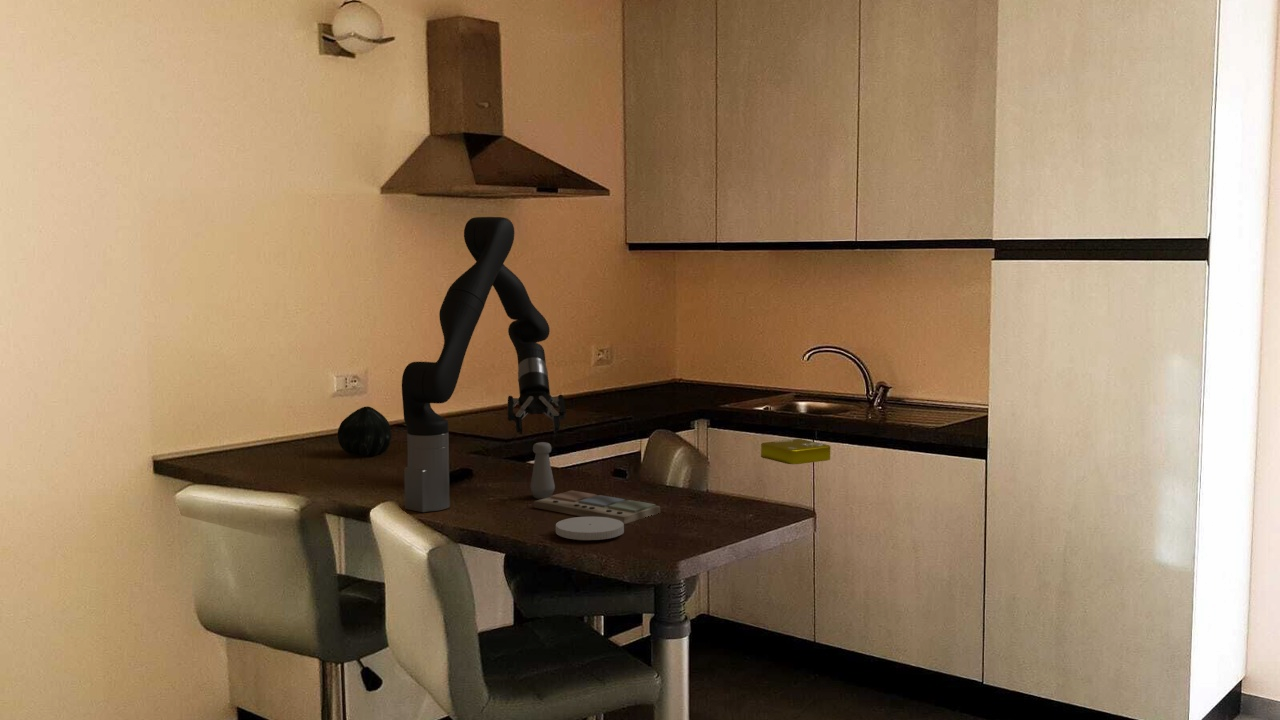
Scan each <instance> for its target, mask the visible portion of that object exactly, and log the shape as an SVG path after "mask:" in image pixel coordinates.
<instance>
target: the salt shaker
mask: <svg viewBox="0 0 1280 720" xmlns="http://www.w3.org/2000/svg"><path fill="white" fill-rule="evenodd" d="M532 451H533V453H534V456H535V457H534V462H533V468H532V473H531V479H530V490H531V494H532V496H533V498H535V499H538V500H541V499H545V498H548V497H551V496H552V495H553V493H554V491H555V488H556V485H555V481H554V476H553V471H552V466H551V460H550V453H551V452H552V445H551V444H550V443H549V442H544V441H541V442H536V443H534V444H533V446H532Z"/></svg>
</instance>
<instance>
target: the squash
mask: <svg viewBox="0 0 1280 720" xmlns="http://www.w3.org/2000/svg"><path fill="white" fill-rule="evenodd" d="M337 440H338V443H339V445H340V448H342V449H341V450H343V451H344V452H346V453H348V454H351V455H352V454H354V455H361V456H362V457H367V456H371V457H375V456H377V455H381V454H383V453H385V452H386V451H387V449H389V447H390V444H391V442H392V431H391V424H390V423H389V421H388V419H387V418H386V417H385V415H384V414H383V413H381V412H379V411H377V410H376V409H375V408H374V407H371V406H369V405H368V406H362V407H361V408H358V409H356V410H355V411H352V413H350V414H349V415H348V416H346V417H345V418H344V419H343V420H342V421H341V422H340V424H339V427H338V429H337Z"/></svg>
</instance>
